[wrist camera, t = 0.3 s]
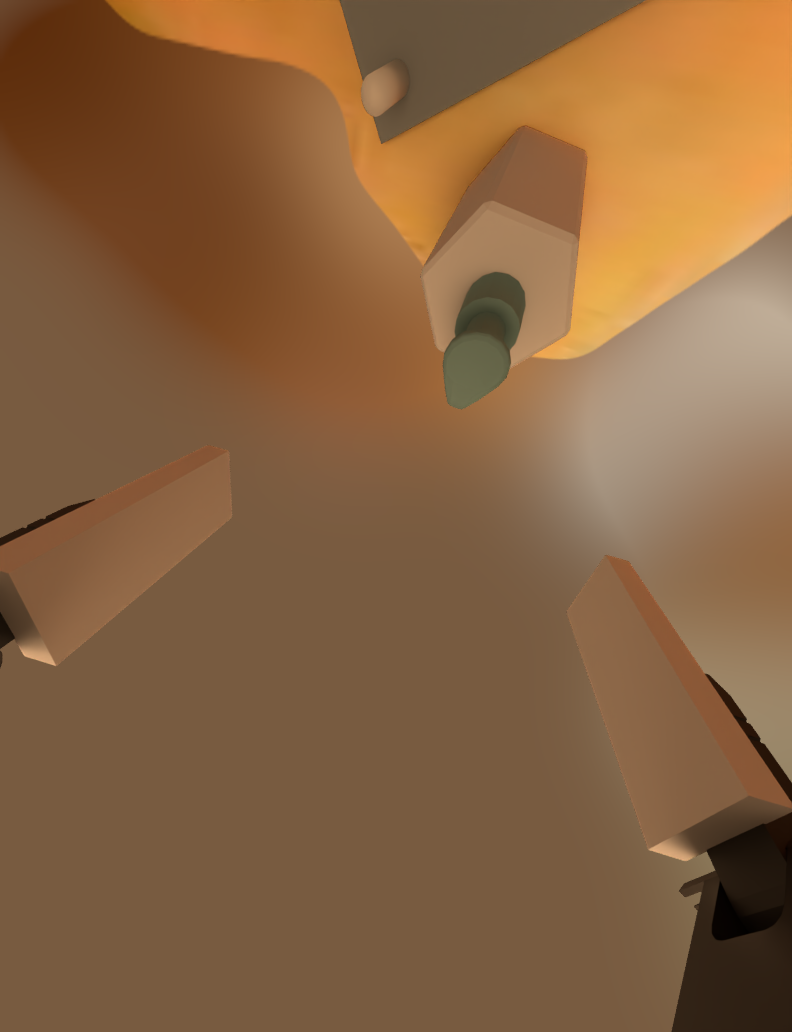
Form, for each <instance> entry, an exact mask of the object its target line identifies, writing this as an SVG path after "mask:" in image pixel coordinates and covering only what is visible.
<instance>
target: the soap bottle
mask: <svg viewBox="0 0 792 1032" xmlns="http://www.w3.org/2000/svg"><path fill="white" fill-rule="evenodd" d="M586 165H587V155H586V153H585V151H584V150H582V149H580V148H577V147H575V146H572V145H570V144H568V143H565V142H563V141H561V140H558V139H556V138H554V137H551V136H549V135H546V134H544V133H542V132H539V131H537V130H535V129H532V128H530V127H528V126H523V127H520V128H519V129H518V130H517V131H516V132H515V133H514V134H513V136H512V137H511V138H510V139H509V140H508V141H507V143H506V144H505V145H504V146H503V147H502V148H501V150H500V151H499V152H498V153H497V154H496V155H495V157H494V158H493V159H492V160H491V161H490V162H489V164H488V165H487V166H486V167H485V168H484V169H483V170H482V172H481V173H480V174H479V175H478V176H477V177H476V179H475V180H474V181H473V182H472V183H471V184H470V186H469V187H468V188H467V190H466V192H465V194H464V196H463V197H462V199H461V201H460V203H459V204H458V206H457V208H456V210H455V212H454V213H453V215H452V217H451V219H450V220H449V222H448V224H447V226H446V228H445V229H444V231H443V233H442V235H441V236H440V238H439V240H438V242H437V243H436V245H435V247H434V249H433V251H432V252H431V254H430V256H429V258H428V259H427V261H426V263H425V265H424V267H423V269H422V272H421V276H420V278H421V282H422V287H423V291H424V295H425V300H426V305H427V310H428V314H429V318H430V323H431V328H432V332H433V337H434V342H435V346H436V347H437V348H438V349H439V350H440V351H442V352H445V353H444V360H443V372H444V382H445V391H446V397H447V402H448V404H449V405H451V406H453V407H455V408H458V409H463V408H466V407H467V406H469V405H471V404H472V403H474V402H476V401H478V400H479V399H481V398H482V397H483V396H485V395H487V394H488V393H489V392H491V391H493V390H494V389H495V388H497V387H498V386H499V385H500V384H501V383H502V382H503V381H504V379H506V377H507V374H508V371H509V369H510V368H512V367H514V366H515V365H517V364H519V363H521V362H522V361H524V360H526V359H527V358H529V357H531V356H532V355H534V354H536V353H537V352H539V351H541V350H542V349H544V348H546V347H548V346H549V345H551V344H553V343H554V342H556V341H558V340H559V339H561V338H563V337H564V336H566V335H567V333H568V332H569V330H570V326H571V316H572V306H573V296H574V286H575V276H576V266H577V256H578V246H579V236H580V226H581V216H582V206H583V196H584V186H585V175H586Z"/></svg>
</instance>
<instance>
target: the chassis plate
mask: <svg viewBox="0 0 792 1032" xmlns="http://www.w3.org/2000/svg"><path fill="white" fill-rule="evenodd" d="M643 1H645V0H340V3H341V6H342V10H343V13H344V17H345V20H346V23H347V27H348V30H349V34H350V37H351V41H352V44H353V48H354V51H355V55H356V58H357V62H358V65H359V68H360V72H361V75H362V79H363V83H362V88H361V98H362V102H363V105H364V108H365V110H366V111H367V112H368V113H369V114H370V115H371V116H373V117H374V120H375V124H376V127H377V131H378V134H379V138H380V141H381V144H382V143H384V142H386V141H388V140H390V139H391V138H393V137H395V136H397V135H399V134H401V133H402V132H404V131H406V130H408V129H410V128H412V127H413V126H415V125H417V124H419V123H421V122H423V121H425V120H426V119H428V118H430V117H432V116H434V115H436V114H437V113H439V112H441V111H443V110H445V109H447V108H448V107H450V106H452V105H454V104H456V103H458V102H459V101H461V100H463V99H465V98H467V97H469V96H470V95H472V94H474V93H476V92H478V91H480V90H482V89H483V88H485V87H487V86H489V85H491V84H493V83H494V82H496V81H498V80H500V79H502V78H504V77H505V76H507V75H509V74H511V73H513V72H515V71H516V70H518V69H520V68H522V67H524V66H526V65H528V64H529V63H531V62H533V61H535V60H537V59H539V58H540V57H542V56H544V55H546V54H548V53H550V52H551V51H553V50H555V49H557V48H559V47H561V46H562V45H564V44H566V43H568V42H570V41H572V40H573V39H575V38H577V37H579V36H581V35H583V34H585V33H586V32H588V31H590V30H592V29H594V28H596V27H597V26H599V25H601V24H603V23H605V22H607V21H608V20H610V19H612V18H614V17H616V16H618V15H619V14H621V13H623V12H625V11H627V10H629V9H630V8H632V7H634V6H636V5H638V4H640V3H642V2H643Z"/></svg>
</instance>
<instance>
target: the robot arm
mask: <svg viewBox="0 0 792 1032" xmlns="http://www.w3.org/2000/svg"><path fill="white" fill-rule="evenodd" d="M231 517H232V504H231V483H230V463H229V451H228V450H225V449H221V448H217V447H214V446H210V445H207V446H205V447H203V448H201V449H199V450H197V451H194V452H192V453H191V454H188V455H186V456H184V457H182V458H180V459H178V460H176V461H174V462H172V463H170V464H168V465H166V466H164V467H162V468H160V469H158V470H156V471H154V472H151V473H150V474H147V475H145V476H143V477H141V478H139V479H137V480H135V481H133V482H131V483H129V484H127V485H125V486H123V487H121V488H119V489H117V490H115V491H113V492H110V493H108V494H106V495H104V496H102V497H100V498H98V499H96V500H95V499H93V500H89V501H86V502H82V503H78V504H75V505H71V506H67V507H66V508H63V509H61V510H59V511H57V512H55V513H52V514H51V515H48V516H46V519H40V520H38V521H35V522H33V523H31V524H29V525H28V526H27V528H21V529H19V530H16V531H14V532H12V533H10V534H8V535H6V536H4V537H1V538H0V649H1V648H2V647H3V646H5V645H6V644H7V643H9V642H10V641H12V640H13V639H15V641H16V643H17V644H18V646H19V648H20V649H21V651H22V653H23V655H24V656H26V657H29V658H32V659H35V660H39V661H42V662H45V663H48V664H52V665H55V666H57V665H58V664H59V663H60V662H62V661H63V660H64V659H65V658H66V657H67V656H69V655H70V654H71V653H72V652H73V651H74V650H76V649H77V648H78V647H79V646H81V645H82V644H83V643H84V642H85V641H86V640H88V639H89V638H90V637H91V636H92V635H93V634H95V633H96V632H97V631H98V630H99V629H101V628H102V627H103V626H104V625H105V624H106V623H108V622H109V621H110V620H111V619H112V618H113V617H115V616H116V615H117V614H118V613H119V612H121V611H122V610H123V609H124V608H125V607H127V606H128V605H129V604H130V603H131V602H132V601H133V600H135V599H136V598H137V597H138V596H140V595H141V594H142V593H143V592H144V591H145V590H147V589H148V588H149V587H150V586H151V585H152V584H154V583H155V582H156V581H157V580H158V579H160V578H161V577H162V576H163V575H164V574H165V573H167V572H168V571H169V570H170V569H171V568H172V567H174V566H175V565H176V564H177V563H178V562H180V561H181V560H182V559H183V558H184V557H185V556H187V555H188V554H189V553H190V552H191V551H193V550H194V549H195V548H196V547H197V546H198V545H200V544H201V543H202V542H203V541H204V540H205V539H207V538H208V537H209V536H210V535H211V534H213V533H214V532H215V531H216V530H217V529H218V528H220V527H221V526H222V525H223V524H224V523H226V522H227V521H228V520H229V519H230V518H231ZM566 613H567V616H568V619H569V621H570V625H571V627H572V630H573V633H574V636H575V639H576V642H577V645H578V647H579V650H580V654H581V656H582V659H583V662H584V665H585V668H586V671H587V674H588V677H589V680H590V683H591V685H592V688H593V691H594V694H595V697H596V700H597V703H598V706H599V709H600V712H601V714H602V717H603V720H604V723H605V726H606V729H607V732H608V735H609V738H610V741H611V743H612V746H613V749H614V752H615V755H616V758H617V761H618V764H619V766H620V770H621V772H622V775H623V778H624V781H625V784H626V787H627V790H628V793H629V795H630V798H631V801H632V804H633V807H634V810H635V813H636V816H637V819H638V822H639V825H640V827H641V830H642V833H643V836H644V839H645V842H646V845H647V848H648V850H651V851H655V852H657V853H661V854H664V855H667V856H670V857H674V858H677V859H680V860H683V861H687V860H689V859H691V858H694V857H695V856H698V855H700V854H702V853H704V852H706V851H707V853H708V855H709V857H710V859H711V861H712V864H713V866H714V868H715V870H716V871H713V872H711V873H709V874H706V875H704V876H701V877H699V878H696V879H694V880H692V881H689V882H687V883H685V884H684V885H683V886H682V887H681V889H680V890H679V892H680V893H681V894H682V895H683V896H684V897H687V896H690V895H693V894H695V893H698V892H702V894H701V899H700V903H699V904H697V905H695V906H694V907H695V908H696V909H697V910H698V912H697V917H696V921H695V926H694V931H693V935H692V940H691V944H690V949H689V954H688V958H687V963H686V967H685V972H684V977H683V981H682V986H681V990H680V995H679V1000H678V1004H677V1009H676V1014H675V1018H674V1023H673V1027H672V1032H792V783H791V781H790V780H789V778H788V777H787V775H786V774H785V773H784V771H783V770H782V768H781V767H780V765H779V764H778V763H777V761H776V760H775V758H774V757H773V756H772V754H771V753H770V751H769V750H768V748H767V747H766V746H765V744H763V743H761V742H760V737H759V736H758V734H757V733H756V731H755V730H754V729H753V727H752V726H751V724H749V723H747V722H746V720H747V719H746V717H745V716H744V714H743V713H742V712H741V710H740V709H739V707H738V706H737V705H736V703H735V702H734V700H733V699H732V697H731V696H730V695H729V694H728V693H727V692H726V691H725V690H724V689H723V688H722V687H721V686H720V685H719V684H718V683H717V682H716V681H715V680H714V679H713V678H712V677H711V676H710V675H708V674H705V673H704V672H703V671H702V669H701V668H700V666H699V665H698V663H697V662H696V660H695V659H694V657H693V656H692V654H691V653H690V651H689V650H688V648H687V647H686V646H685V644H684V643H683V641H682V640H681V638H680V637H679V635H678V634H677V632H676V631H675V629H674V628H673V626H672V625H671V623H670V622H669V620H668V619H667V617H666V616H665V614H664V613H663V611H662V610H661V608H660V607H659V606H658V604H657V603H656V601H655V600H654V598H653V597H652V595H651V594H650V592H649V591H648V589H647V588H646V586H645V585H644V583H643V582H642V580H641V579H640V577H639V576H638V574H637V573H636V571H635V570H634V568H633V567H632V566H631V564H630V563H629V561H626V560H623V559H619V558H615V557H612V556H608V555H605V556H604V558H603V559H602V561H601V562H600V563H599V565H598V566H597V568H596V569H595V571H594V572H593V574H592V575H591V577H590V578H589V580H588V581H587V582H586V584H585V585H584V587H583V588H582V590H581V591H580V593H579V594H578V596H577V597H576V598H575V600H574V601H573V603H572V604H571V606H570V607H569V609H568V610H567V611H566ZM1 664H2V652H1V651H0V667H1Z"/></svg>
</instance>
